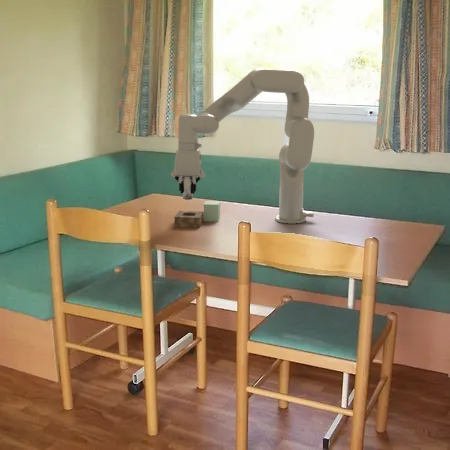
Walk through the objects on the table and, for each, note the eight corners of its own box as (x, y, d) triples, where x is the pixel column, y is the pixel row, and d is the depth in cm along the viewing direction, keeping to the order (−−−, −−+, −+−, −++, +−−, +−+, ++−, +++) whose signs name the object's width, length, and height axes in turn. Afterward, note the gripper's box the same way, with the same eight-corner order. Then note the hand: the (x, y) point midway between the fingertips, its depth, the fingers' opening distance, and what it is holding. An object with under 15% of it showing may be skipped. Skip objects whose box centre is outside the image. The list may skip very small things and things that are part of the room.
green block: (220, 217, 264) (220, 201, 262) (218, 221, 258) (218, 204, 256) (205, 217, 264) (205, 201, 262) (203, 221, 258) (203, 204, 257)
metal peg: (193, 197, 252) (193, 175, 250) (191, 199, 249) (191, 177, 247) (183, 197, 253) (183, 175, 251) (182, 199, 249) (182, 176, 247)
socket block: (203, 221, 258) (203, 211, 257) (199, 227, 248) (199, 217, 247) (179, 220, 259) (179, 210, 258) (174, 226, 249) (174, 216, 248)
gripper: (210, 146, 248) (209, 192, 253) (168, 144, 250) (168, 190, 255) (208, 148, 241) (207, 196, 246) (164, 147, 243) (164, 194, 248)
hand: (187, 192), depth 250 cm, fingers closed on metal peg, 3 cm apart
